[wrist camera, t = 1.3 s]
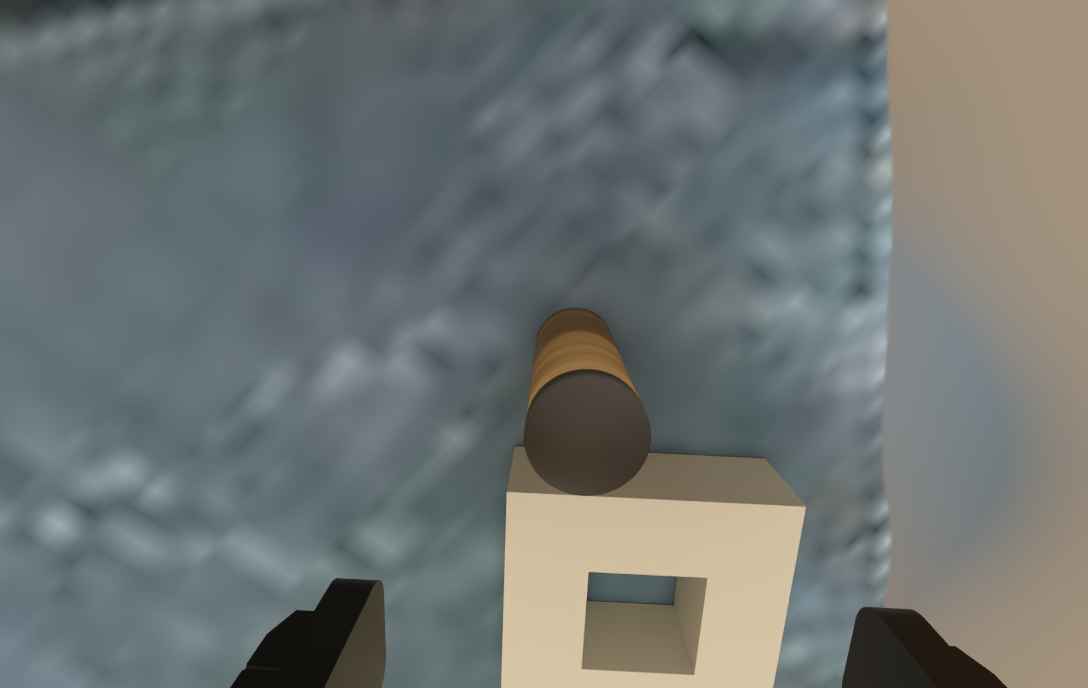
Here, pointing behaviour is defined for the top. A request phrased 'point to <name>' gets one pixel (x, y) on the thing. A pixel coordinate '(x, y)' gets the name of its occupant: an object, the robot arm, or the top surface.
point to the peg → (583, 408)
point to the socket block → (650, 549)
